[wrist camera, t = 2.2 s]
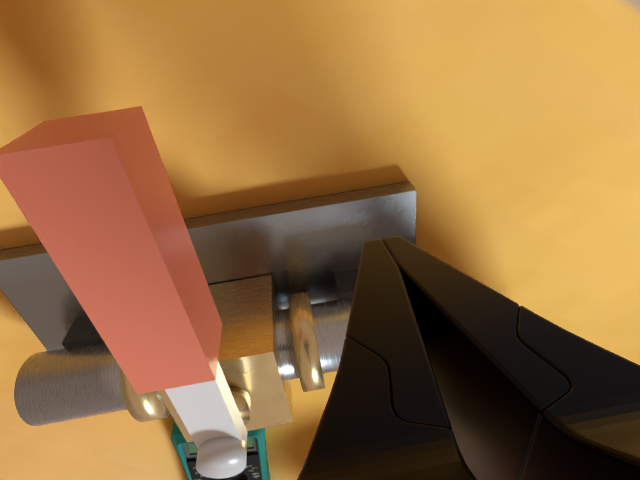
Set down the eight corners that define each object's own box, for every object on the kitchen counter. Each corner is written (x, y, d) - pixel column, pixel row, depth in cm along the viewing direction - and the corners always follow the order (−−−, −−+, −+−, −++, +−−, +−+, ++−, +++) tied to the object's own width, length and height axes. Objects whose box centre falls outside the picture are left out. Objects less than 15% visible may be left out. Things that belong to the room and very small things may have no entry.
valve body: (409, 181, 23) (473, 266, 16) (408, 343, 31) (451, 447, 24) (-6, 251, 22) (-130, 372, 15) (101, 399, 30) (52, 524, 23)
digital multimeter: (200, 494, 40) (196, 527, 38) (174, 407, 32) (167, 442, 30) (272, 485, 41) (273, 517, 38) (264, 398, 33) (264, 431, 30)
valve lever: (258, 420, 20) (257, 476, 18) (204, 430, 20) (196, 488, 18) (141, 105, 11) (110, 136, 9) (44, 121, 11) (-13, 156, 9)
